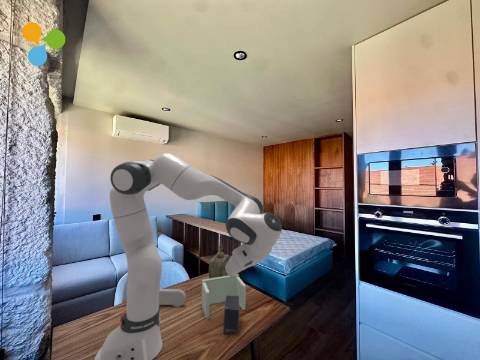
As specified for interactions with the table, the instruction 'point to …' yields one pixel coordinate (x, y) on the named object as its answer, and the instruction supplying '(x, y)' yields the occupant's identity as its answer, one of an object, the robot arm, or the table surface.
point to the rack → (222, 291)
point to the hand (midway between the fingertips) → (243, 269)
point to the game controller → (171, 297)
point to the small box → (231, 315)
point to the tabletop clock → (218, 265)
